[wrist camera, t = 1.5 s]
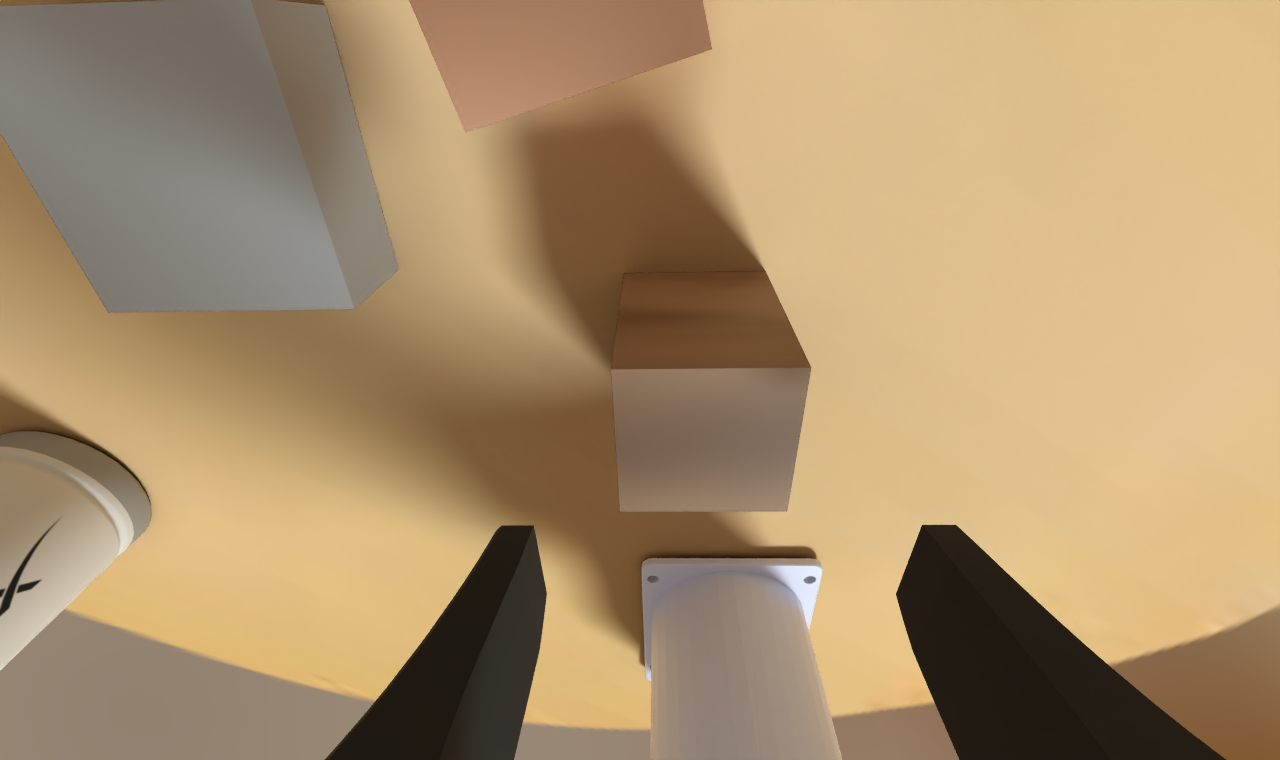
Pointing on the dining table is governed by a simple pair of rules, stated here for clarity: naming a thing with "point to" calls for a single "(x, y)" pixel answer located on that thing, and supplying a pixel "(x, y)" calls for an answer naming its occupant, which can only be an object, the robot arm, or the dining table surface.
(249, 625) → the dining table surface
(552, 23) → the terracotta block
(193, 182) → the base block
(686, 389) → the walnut block
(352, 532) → the dining table surface
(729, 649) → the robot arm
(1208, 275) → the dining table surface
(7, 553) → the travel mug
